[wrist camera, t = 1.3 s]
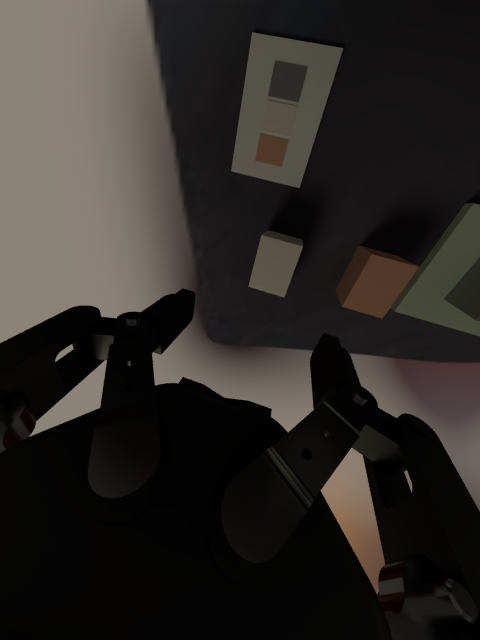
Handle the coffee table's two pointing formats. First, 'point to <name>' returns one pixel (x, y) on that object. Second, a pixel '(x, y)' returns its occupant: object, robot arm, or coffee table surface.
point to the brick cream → (275, 262)
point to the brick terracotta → (374, 281)
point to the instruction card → (282, 106)
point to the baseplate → (449, 277)
